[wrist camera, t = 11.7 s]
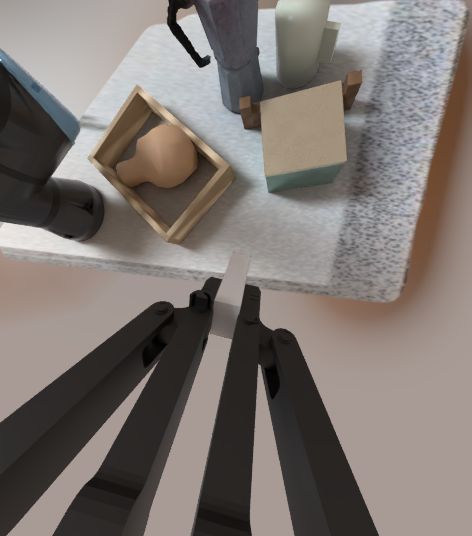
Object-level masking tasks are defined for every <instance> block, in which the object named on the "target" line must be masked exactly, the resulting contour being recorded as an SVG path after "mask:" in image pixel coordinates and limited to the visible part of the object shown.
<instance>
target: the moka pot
mask: <svg viewBox="0 0 472 536" xmlns="http://www.w3.org/2000/svg"><path fill="white" fill-rule="evenodd" d="M192 5H195V7H196V10H197V12H198V15H199V18H200V20H201V23H202V25H203V28H204V31H205V33H206V36H207V39H208V41H209V44H210V46H211V49H212V50H213V51H214V57H215V59H216V60H217V65H218V73H219V79H220V87H221V94H222V101H223V105H224V106H225V107H226V108H227V109H229V110H230V111H233V112H240V105H239V98H242V97H247V96H250V98H251V103H257V102H259V100H260V98H261V96H262V93H263V85H262V79H261V72H260V66H259V60H258V55H259V48H258V47H256V46H257V21H258V0H169V7H168V18H167V25H168V26H169V28H170V30H171V32H172V33H173V35H174V36H175V37H176V39H178V41H179V42H180V43H181V44H182V46H183V47H184V48H185V49H186V51H187V52H188V53H189V54H190V56H191V58H192V59H193V60H194V61H195V63H196V64H197V65H198V67H199V68H202V67H204V66H206V65H208V64H209V63H210V57H211V56H209V55H207V56H205V57H204V58H201V57H200V56H199V54H198V53H197V52H196V51H195V49H194V47H193V46H192V44H191V42H190V41H189V40H188V38H187V36H186V35H185V34H184V32H183V30H182V29H181V27H180V26H179V25H178V24H177V22H176V13H177V11H178V9H180V8H183V9H188V8H190V7H191V6H192Z"/></svg>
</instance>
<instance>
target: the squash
mask: <svg viewBox="0 0 472 536" xmlns="http://www.w3.org/2000/svg"><path fill="white" fill-rule="evenodd" d="M197 165H198V153H197V151H196V149H195V147H194V145H193V143H192V142H191V140H190V138H189V137H188V135H187V134H186V133H185V132H184V131H183V130H182V129H181V128H180V127H178V126H177V125H165V124H162V125H159V126H157V127H155V128H153V129H152V130H151V131H149V132H148V133H147V134H146V135H145V136H143V137H141V138H139V139H138V140H137V144H136V152H135V154H134V157H132V158H131V159H129V160H127V161H126V160H125V161H122V162H120V163H117V165H116V170H117V173H118V176H119V179H120V181H121V182H122V183H124V184H126V185H127V186H129V187H132V186H138V185H139V184H140V183H143V182H146V181H147V182H152V183H153V184H154V185H156V186H157V187H163V188H172V187H174V186H176V185H179V184H181V183H182V182H184V181H185V180H186V179H187V178H188V177H189V176H190V175H191V174H192V173H193V172H194V171H195V170H196V168H197Z"/></svg>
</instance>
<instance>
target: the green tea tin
mask: <svg viewBox="0 0 472 536" xmlns="http://www.w3.org/2000/svg"><path fill="white" fill-rule="evenodd" d="M260 111H261V127H262V142H263V157H264V173H265V177H266V180H267V187H268V192H275V191H281V190H288V189H294V188H301V187H307V186H314V185H320V184H326V183H332V182H333V180H334V178H335V177H336V175H337V173H338V172H339V170H340V169H341V167H342V165H343V164H344V163H346V161H347V154H346V140H345V125H344V111H343V96H342V82H341V80H339V81H335V82H332V83H328V84H324V85H320V86H317V87H313V88H309V89H305V90H302V91H298V92H294V93H290V94H287V95H283V96H279V97H276V98H272V99H268V100H264V101H261V102H260Z"/></svg>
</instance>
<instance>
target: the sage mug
mask: <svg viewBox="0 0 472 536" xmlns="http://www.w3.org/2000/svg"><path fill="white" fill-rule="evenodd" d="M330 1H331V0H279V2H278V4H277V7H276V11H275V27H276V74H277V79H278V81H279V82H280V84H281V85H282V86H284V87H286V88H290V89H295V88H300V87H302V86H304V85H306V84H307V83H309V82H310V81H311V80H312V79H313V77H314V76H315V74H316V72H317V70H318V66H319V62H322V63H327V64H330V63H331V60H332V58H333V54H334V50H335V46H336V42H337V38H338V34H339V30H340V26H341V23H338V22H330V21H327V18H328V13H329V8H330Z"/></svg>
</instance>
